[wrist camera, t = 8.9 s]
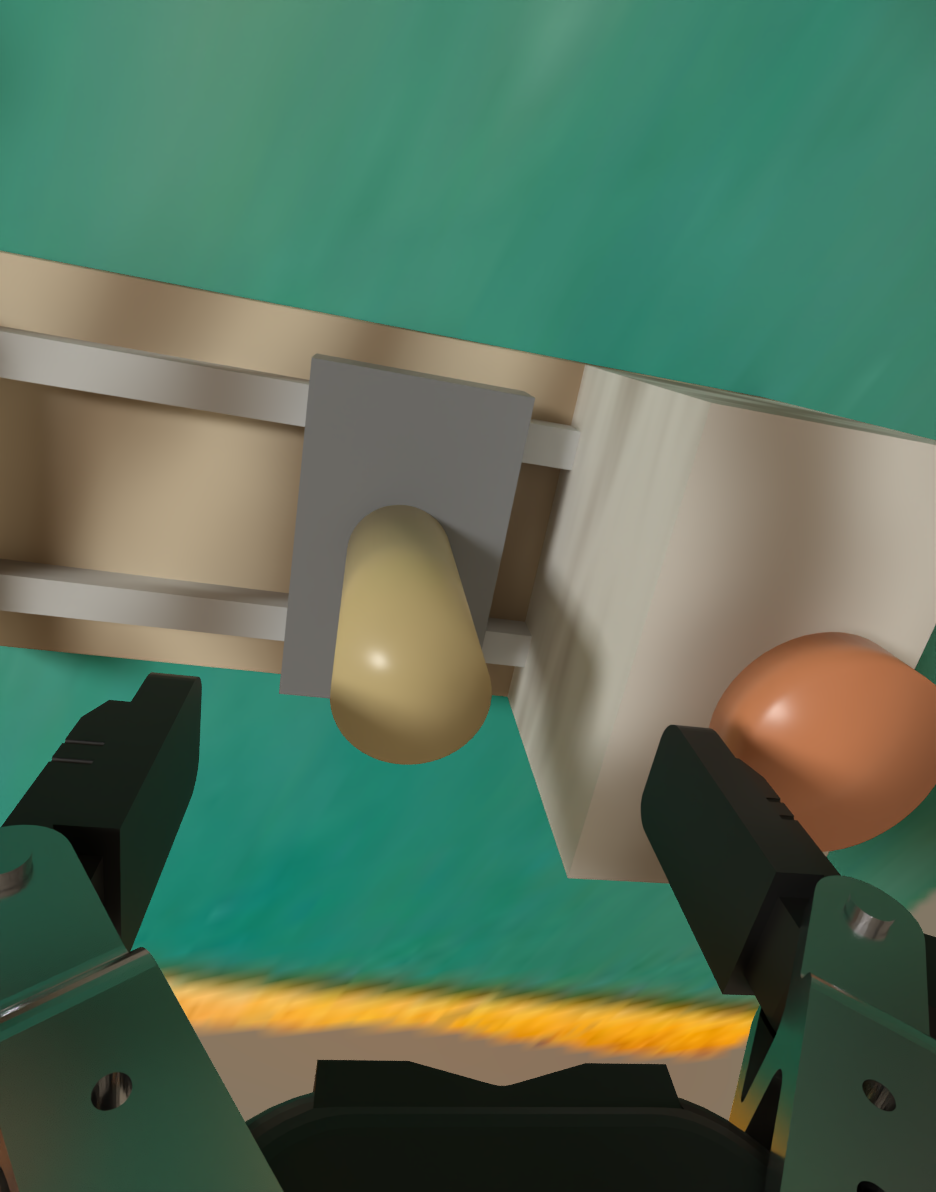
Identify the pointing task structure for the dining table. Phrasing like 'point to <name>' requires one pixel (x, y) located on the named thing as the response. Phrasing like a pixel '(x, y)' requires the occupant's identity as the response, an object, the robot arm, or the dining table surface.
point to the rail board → (533, 541)
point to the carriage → (400, 552)
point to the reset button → (834, 734)
